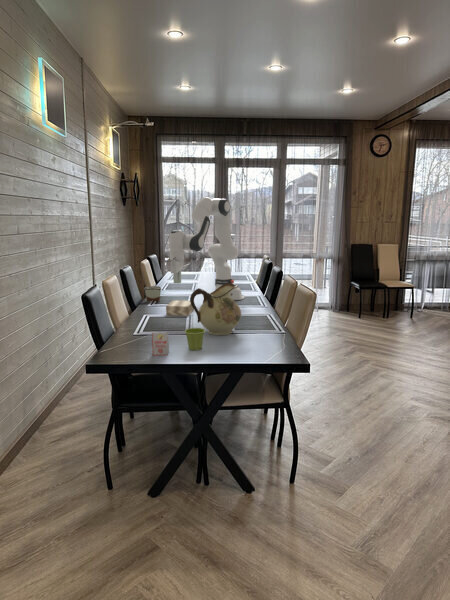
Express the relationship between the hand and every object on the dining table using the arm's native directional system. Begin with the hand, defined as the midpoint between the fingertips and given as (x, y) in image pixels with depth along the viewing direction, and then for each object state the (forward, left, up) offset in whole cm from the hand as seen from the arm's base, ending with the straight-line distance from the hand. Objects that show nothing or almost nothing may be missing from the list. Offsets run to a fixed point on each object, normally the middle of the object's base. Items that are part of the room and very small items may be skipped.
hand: (177, 278), depth 262 cm
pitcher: (-32, +43, -21) cm, 57 cm away
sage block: (0, 0, -3) cm, 3 cm away
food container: (+24, -31, -21) cm, 45 cm away
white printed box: (-10, +79, -22) cm, 82 cm away
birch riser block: (-2, +1, -22) cm, 22 cm away
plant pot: (-24, +70, -21) cm, 77 cm away
